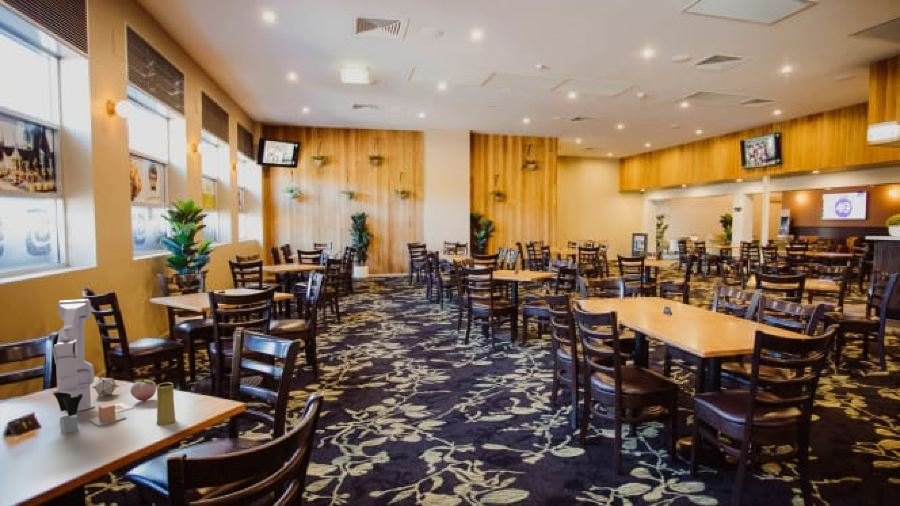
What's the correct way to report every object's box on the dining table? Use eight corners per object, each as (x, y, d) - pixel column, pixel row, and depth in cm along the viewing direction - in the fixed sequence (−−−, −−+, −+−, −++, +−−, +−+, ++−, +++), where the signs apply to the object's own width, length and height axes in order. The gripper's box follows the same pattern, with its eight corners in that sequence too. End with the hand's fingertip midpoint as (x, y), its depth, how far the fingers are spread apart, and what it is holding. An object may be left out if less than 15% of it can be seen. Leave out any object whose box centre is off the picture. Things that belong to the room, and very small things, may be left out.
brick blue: (60, 431, 178) (60, 417, 178) (74, 427, 181) (73, 413, 181) (64, 433, 175) (63, 420, 175) (78, 430, 179) (77, 416, 178)
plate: (89, 420, 187) (89, 419, 187) (116, 413, 194) (116, 412, 194) (98, 426, 182) (98, 425, 182) (126, 418, 189) (126, 417, 189)
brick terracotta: (111, 415, 191) (110, 402, 190) (115, 418, 188) (114, 405, 188) (99, 418, 187) (98, 405, 187) (103, 421, 185) (102, 408, 185)
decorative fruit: (161, 397, 212) (160, 374, 211) (150, 404, 203) (149, 380, 203) (139, 397, 212) (138, 374, 211) (127, 404, 203) (126, 380, 203)
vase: (179, 420, 188) (178, 383, 187) (165, 426, 182) (164, 388, 181) (167, 418, 190) (165, 381, 189) (152, 424, 184) (151, 386, 183)
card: (102, 408, 200) (102, 407, 200) (122, 402, 205) (122, 402, 205) (112, 413, 194) (112, 413, 194) (132, 408, 199) (132, 407, 199)
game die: (107, 405, 212) (101, 391, 206) (91, 397, 214) (85, 383, 208) (125, 389, 219) (120, 376, 213) (109, 381, 221) (104, 367, 214)
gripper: (46, 374, 178) (47, 411, 179) (60, 382, 169) (62, 421, 170) (69, 369, 184) (71, 405, 185) (84, 376, 175) (86, 414, 176)
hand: (68, 412), depth 178 cm, fingers open, 7 cm apart
